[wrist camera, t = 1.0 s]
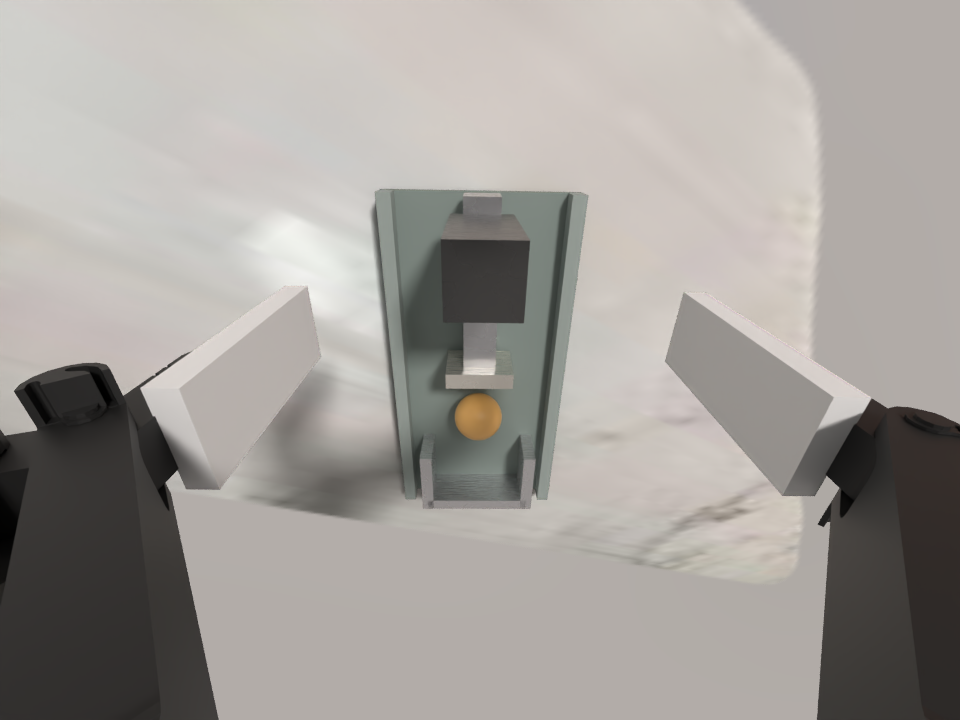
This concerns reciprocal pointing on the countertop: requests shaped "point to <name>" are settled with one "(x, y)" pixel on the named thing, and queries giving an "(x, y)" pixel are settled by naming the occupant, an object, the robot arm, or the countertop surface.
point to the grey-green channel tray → (426, 339)
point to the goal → (477, 482)
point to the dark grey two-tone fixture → (482, 288)
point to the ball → (478, 416)
